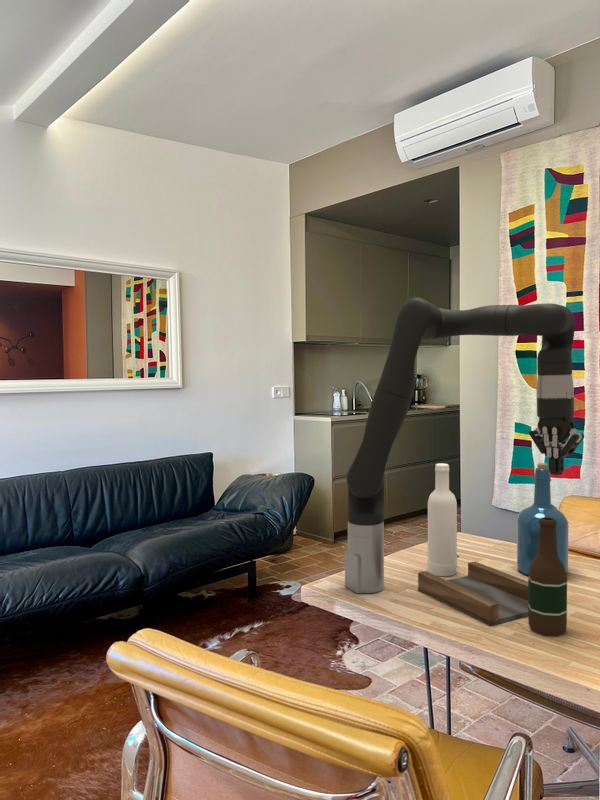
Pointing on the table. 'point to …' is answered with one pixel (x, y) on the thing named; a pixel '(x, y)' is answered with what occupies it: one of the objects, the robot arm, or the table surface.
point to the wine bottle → (531, 527)
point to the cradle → (480, 593)
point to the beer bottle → (547, 585)
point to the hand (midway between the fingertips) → (556, 474)
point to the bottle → (442, 526)
